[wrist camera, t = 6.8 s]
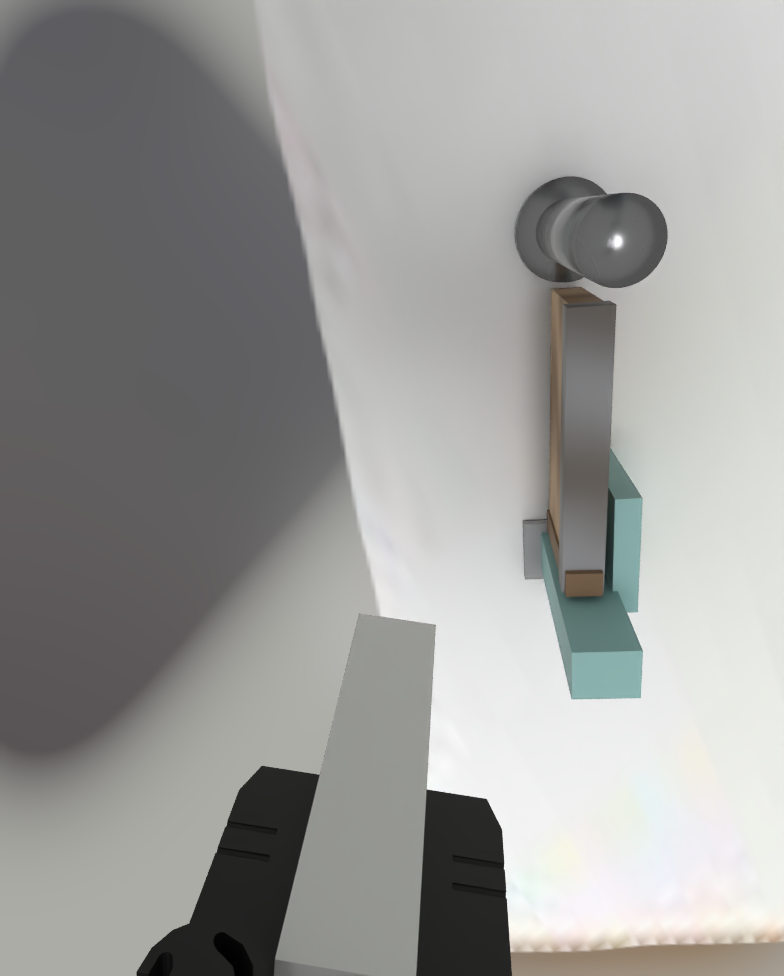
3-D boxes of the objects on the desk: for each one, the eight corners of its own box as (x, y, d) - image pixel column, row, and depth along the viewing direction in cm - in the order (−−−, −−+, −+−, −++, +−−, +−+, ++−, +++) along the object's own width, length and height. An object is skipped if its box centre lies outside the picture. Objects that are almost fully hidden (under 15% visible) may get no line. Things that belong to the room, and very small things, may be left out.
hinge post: (513, 182, 27) (544, 168, 18) (616, 171, 27) (704, 150, 17) (516, 285, 29) (546, 323, 19) (613, 276, 28) (693, 311, 19)
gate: (546, 289, 28) (568, 309, 23) (585, 286, 28) (618, 305, 22) (544, 529, 32) (563, 596, 27) (579, 528, 32) (605, 595, 26)
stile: (521, 452, 32) (546, 551, 22) (609, 447, 31) (673, 546, 22) (524, 575, 34) (549, 710, 25) (606, 572, 34) (663, 708, 24)
